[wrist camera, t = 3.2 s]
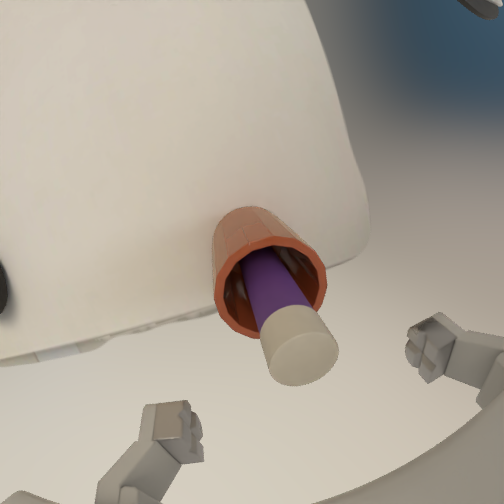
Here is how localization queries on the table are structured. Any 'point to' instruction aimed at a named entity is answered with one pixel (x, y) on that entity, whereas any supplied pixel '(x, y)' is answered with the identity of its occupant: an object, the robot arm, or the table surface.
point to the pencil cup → (252, 238)
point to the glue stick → (286, 322)
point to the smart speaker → (2, 291)
